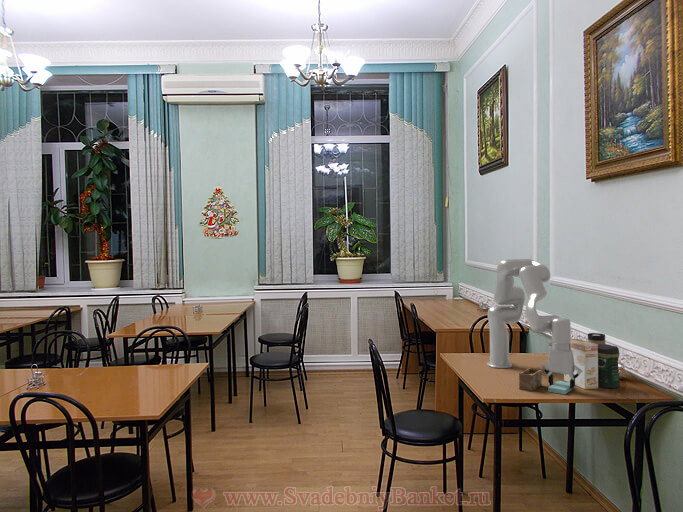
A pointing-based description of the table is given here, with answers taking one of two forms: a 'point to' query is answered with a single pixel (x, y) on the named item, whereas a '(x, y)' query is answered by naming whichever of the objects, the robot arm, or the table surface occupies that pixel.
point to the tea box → (530, 379)
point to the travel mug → (596, 338)
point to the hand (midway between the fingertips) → (561, 386)
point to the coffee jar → (608, 366)
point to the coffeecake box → (585, 364)
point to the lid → (560, 387)
